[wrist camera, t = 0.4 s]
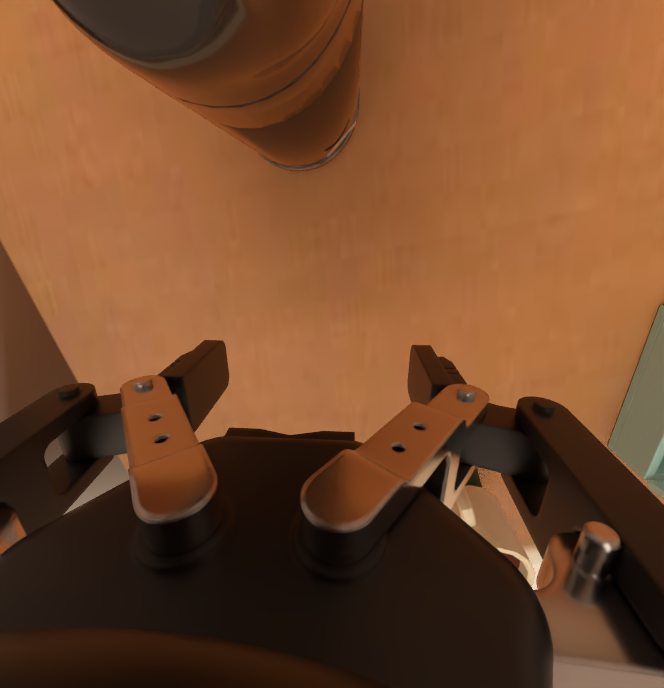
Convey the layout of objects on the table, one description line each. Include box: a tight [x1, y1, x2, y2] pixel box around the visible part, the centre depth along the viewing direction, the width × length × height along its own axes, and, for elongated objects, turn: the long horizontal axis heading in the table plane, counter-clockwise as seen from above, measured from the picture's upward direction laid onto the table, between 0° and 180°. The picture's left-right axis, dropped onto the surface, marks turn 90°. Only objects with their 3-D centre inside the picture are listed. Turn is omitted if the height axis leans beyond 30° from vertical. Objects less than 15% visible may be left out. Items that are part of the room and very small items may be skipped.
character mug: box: [451, 466, 535, 586], centre depth 31 cm, size 11×7×13 cm, turn 18°
